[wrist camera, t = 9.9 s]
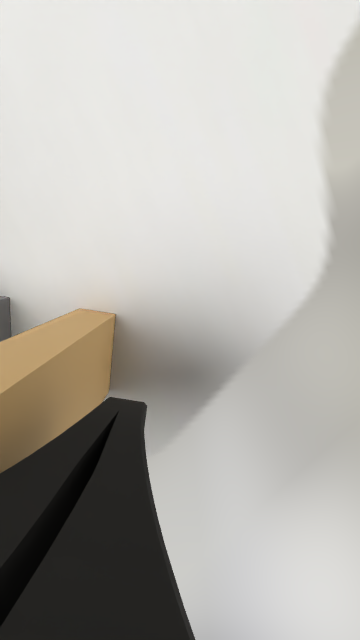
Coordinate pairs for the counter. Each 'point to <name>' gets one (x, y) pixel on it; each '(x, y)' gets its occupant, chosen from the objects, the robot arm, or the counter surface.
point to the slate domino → (5, 318)
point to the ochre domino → (52, 380)
